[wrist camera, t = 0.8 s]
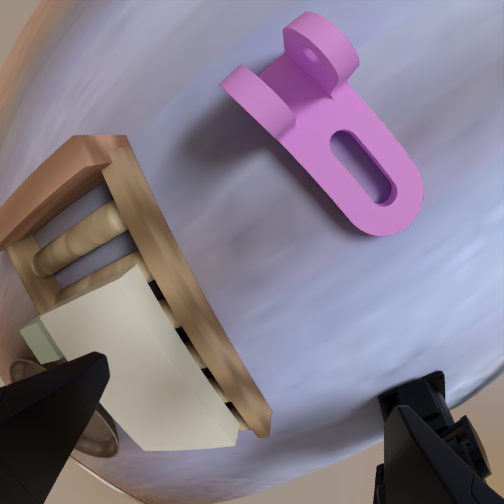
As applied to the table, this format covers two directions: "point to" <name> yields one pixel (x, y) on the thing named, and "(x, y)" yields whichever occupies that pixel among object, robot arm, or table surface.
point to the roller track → (147, 257)
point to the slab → (142, 365)
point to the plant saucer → (98, 429)
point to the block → (40, 341)
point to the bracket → (329, 122)
